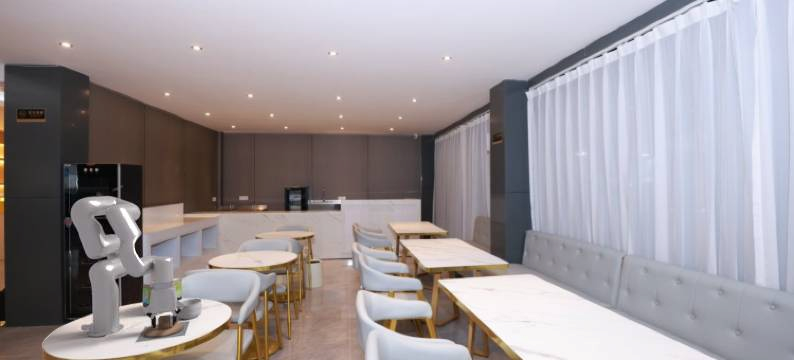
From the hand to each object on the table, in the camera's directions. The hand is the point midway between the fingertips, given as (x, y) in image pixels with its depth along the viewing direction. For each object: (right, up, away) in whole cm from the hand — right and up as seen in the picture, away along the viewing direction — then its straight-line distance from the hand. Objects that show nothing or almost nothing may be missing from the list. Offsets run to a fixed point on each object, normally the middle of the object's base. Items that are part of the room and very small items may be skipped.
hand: (164, 325), depth 173 cm
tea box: (-19, -3, +30) cm, 36 cm away
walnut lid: (0, -2, 0) cm, 2 cm away
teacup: (+2, -3, +19) cm, 20 cm away
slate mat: (0, -3, 0) cm, 3 cm away
